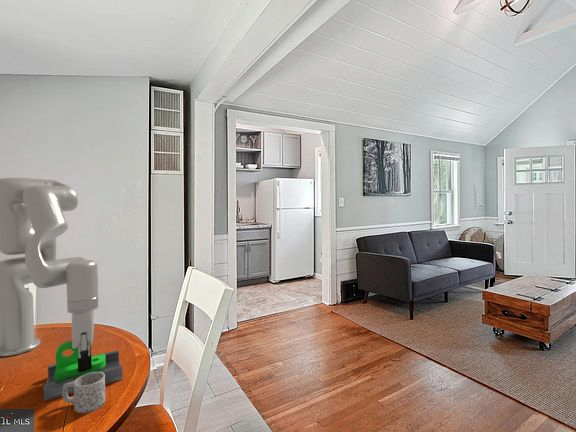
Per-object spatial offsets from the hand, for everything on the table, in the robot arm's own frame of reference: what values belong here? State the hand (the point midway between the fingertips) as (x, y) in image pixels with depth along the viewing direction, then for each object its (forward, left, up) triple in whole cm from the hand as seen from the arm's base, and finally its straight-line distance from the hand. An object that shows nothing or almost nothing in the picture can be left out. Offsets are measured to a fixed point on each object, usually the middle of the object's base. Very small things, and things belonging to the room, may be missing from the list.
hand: (85, 364), depth 92 cm
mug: (+14, 0, -4) cm, 15 cm away
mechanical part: (0, -1, -1) cm, 2 cm away
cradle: (0, 0, -4) cm, 4 cm away
